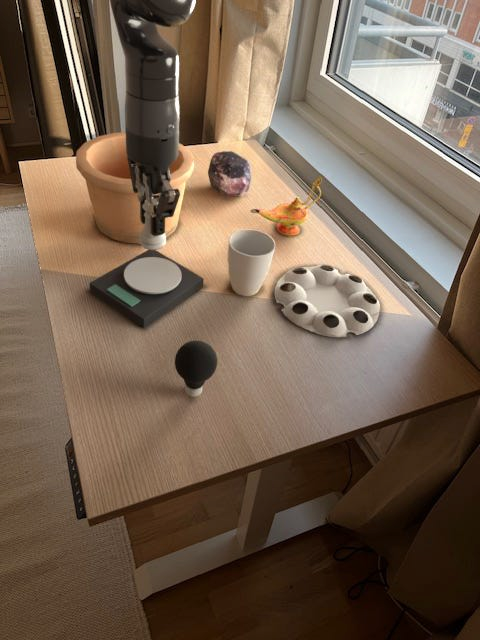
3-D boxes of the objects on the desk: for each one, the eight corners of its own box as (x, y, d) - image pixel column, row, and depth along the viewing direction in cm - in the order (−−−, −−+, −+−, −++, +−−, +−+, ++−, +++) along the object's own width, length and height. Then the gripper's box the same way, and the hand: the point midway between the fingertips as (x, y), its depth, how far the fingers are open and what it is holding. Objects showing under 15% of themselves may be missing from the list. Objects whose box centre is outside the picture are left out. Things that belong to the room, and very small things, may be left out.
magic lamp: (238, 231, 109) (244, 183, 102) (304, 214, 117) (315, 169, 110) (255, 248, 105) (263, 200, 98) (323, 229, 113) (335, 184, 106)
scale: (143, 328, 85) (143, 315, 83) (90, 291, 90) (88, 279, 88) (203, 287, 94) (204, 274, 92) (151, 256, 99) (151, 244, 97)
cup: (274, 297, 94) (283, 252, 88) (232, 304, 92) (238, 259, 85) (256, 270, 100) (264, 226, 93) (217, 277, 97) (221, 232, 90)
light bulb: (168, 383, 77) (170, 335, 70) (206, 375, 79) (211, 328, 72) (179, 414, 73) (182, 367, 66) (218, 405, 75) (225, 358, 68)
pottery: (62, 212, 107) (53, 145, 97) (151, 185, 119) (151, 123, 109) (119, 265, 96) (115, 196, 86) (211, 230, 108) (217, 166, 98)
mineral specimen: (252, 175, 124) (257, 145, 115) (245, 210, 120) (249, 182, 111) (212, 167, 124) (213, 137, 115) (203, 202, 120) (204, 173, 111)
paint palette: (252, 289, 95) (254, 280, 94) (324, 256, 106) (326, 248, 104) (330, 353, 85) (332, 345, 84) (400, 310, 96) (404, 302, 94)
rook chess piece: (156, 233, 89) (156, 191, 83) (171, 246, 87) (172, 204, 81) (134, 240, 86) (132, 198, 81) (148, 254, 84) (148, 211, 79)
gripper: (107, 107, 75) (113, 211, 87) (149, 149, 67) (150, 257, 79) (154, 102, 79) (154, 202, 90) (200, 141, 70) (193, 246, 82)
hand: (152, 227), depth 84 cm, fingers closed on rook chess piece, 3 cm apart
